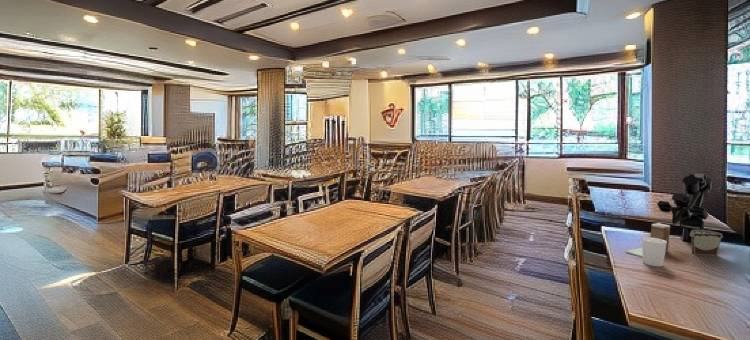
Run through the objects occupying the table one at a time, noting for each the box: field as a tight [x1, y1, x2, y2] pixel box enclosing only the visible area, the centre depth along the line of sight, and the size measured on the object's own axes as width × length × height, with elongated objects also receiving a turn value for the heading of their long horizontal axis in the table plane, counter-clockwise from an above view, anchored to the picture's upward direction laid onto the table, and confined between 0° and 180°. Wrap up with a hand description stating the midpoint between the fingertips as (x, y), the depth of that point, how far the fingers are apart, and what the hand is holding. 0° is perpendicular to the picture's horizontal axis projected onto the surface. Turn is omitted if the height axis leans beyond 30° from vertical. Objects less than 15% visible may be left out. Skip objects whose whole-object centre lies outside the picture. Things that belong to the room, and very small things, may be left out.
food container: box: [690, 229, 724, 256], centre depth 170 cm, size 12×6×10 cm, turn 84°
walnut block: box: [650, 222, 671, 253], centre depth 173 cm, size 5×5×12 cm
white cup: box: [642, 236, 667, 267], centre depth 155 cm, size 8×8×10 cm
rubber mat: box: [625, 247, 667, 258], centre depth 169 cm, size 14×9×1 cm, turn 115°
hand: (673, 223), depth 176 cm, fingers closed
